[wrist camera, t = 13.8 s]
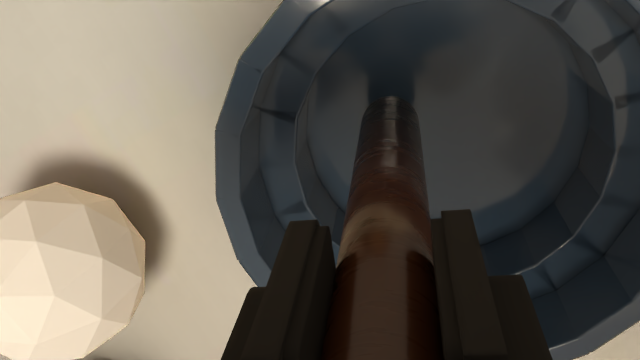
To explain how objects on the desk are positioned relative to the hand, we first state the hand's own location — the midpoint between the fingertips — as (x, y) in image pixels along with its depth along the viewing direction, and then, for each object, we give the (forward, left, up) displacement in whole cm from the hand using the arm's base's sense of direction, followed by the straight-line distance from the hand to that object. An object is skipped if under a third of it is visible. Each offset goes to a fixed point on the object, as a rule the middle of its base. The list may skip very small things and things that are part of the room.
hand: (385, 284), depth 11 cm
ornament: (+10, +11, -12) cm, 19 cm away
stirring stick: (0, 0, -11) cm, 11 cm away
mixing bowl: (-2, 0, -12) cm, 12 cm away
